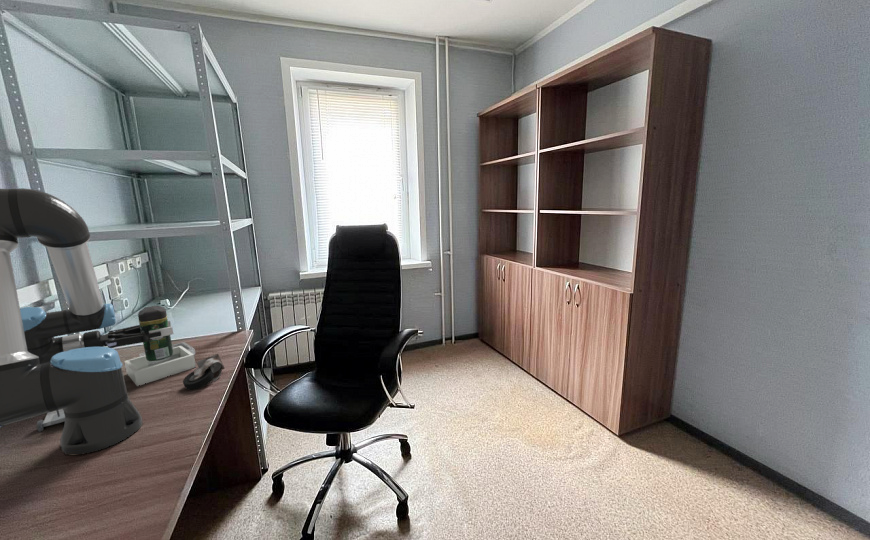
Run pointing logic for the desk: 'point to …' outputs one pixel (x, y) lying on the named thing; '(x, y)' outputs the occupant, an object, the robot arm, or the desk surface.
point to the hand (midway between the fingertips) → (171, 327)
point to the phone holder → (51, 419)
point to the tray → (159, 366)
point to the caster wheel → (204, 373)
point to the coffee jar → (151, 321)
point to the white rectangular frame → (174, 354)
